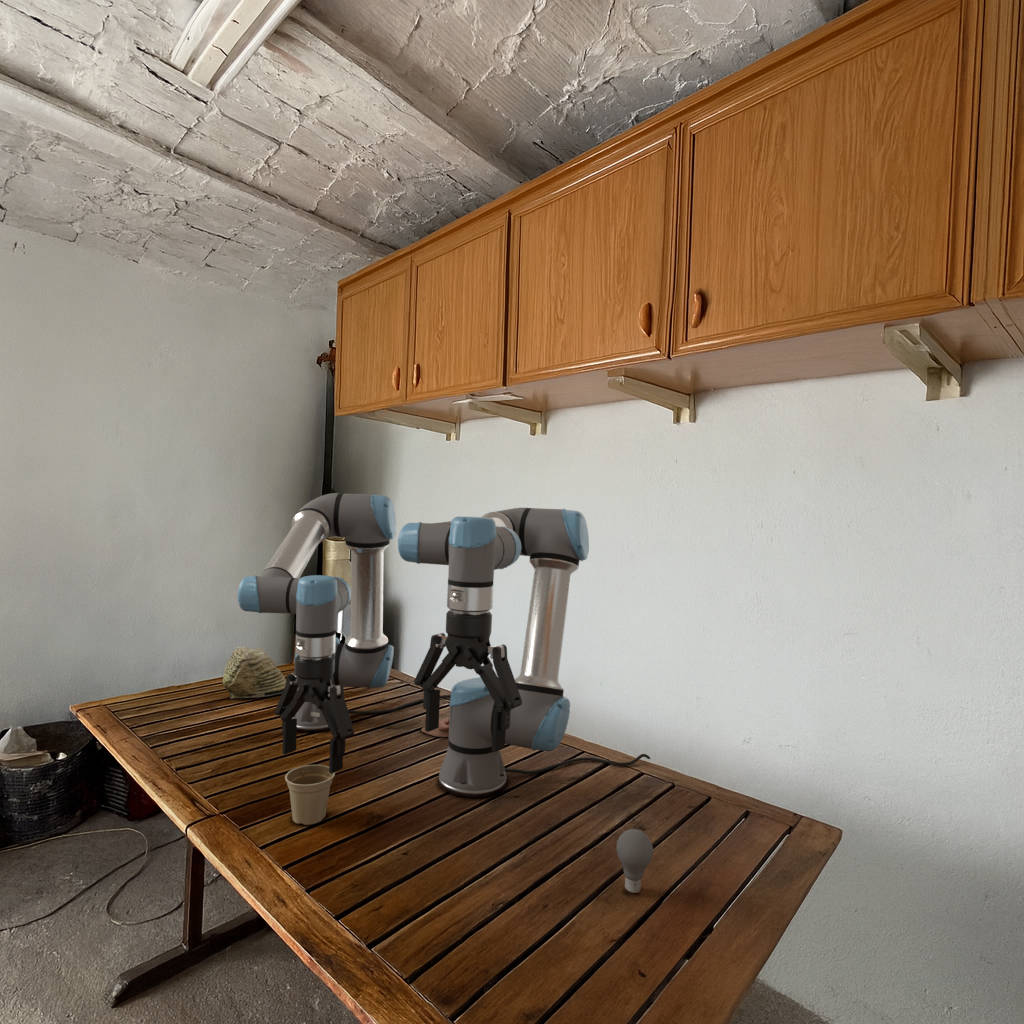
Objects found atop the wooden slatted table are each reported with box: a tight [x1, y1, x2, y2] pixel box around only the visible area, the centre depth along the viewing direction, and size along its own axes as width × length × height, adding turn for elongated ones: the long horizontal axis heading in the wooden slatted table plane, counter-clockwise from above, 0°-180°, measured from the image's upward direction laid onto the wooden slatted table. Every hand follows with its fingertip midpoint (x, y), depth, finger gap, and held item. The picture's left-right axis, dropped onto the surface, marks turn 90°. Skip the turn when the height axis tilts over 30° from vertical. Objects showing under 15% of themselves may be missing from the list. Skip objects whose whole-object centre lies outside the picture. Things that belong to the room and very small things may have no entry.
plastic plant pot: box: [284, 764, 336, 826], centre depth 125 cm, size 9×9×9 cm
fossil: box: [222, 646, 286, 699], centre depth 198 cm, size 9×18×15 cm, turn 132°
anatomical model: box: [420, 717, 449, 738], centre depth 175 cm, size 13×4×12 cm
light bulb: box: [615, 828, 654, 894], centre depth 106 cm, size 6×6×10 cm
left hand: (311, 761), depth 125 cm, fingers open, 13 cm apart
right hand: (463, 738), depth 104 cm, fingers open, 13 cm apart
